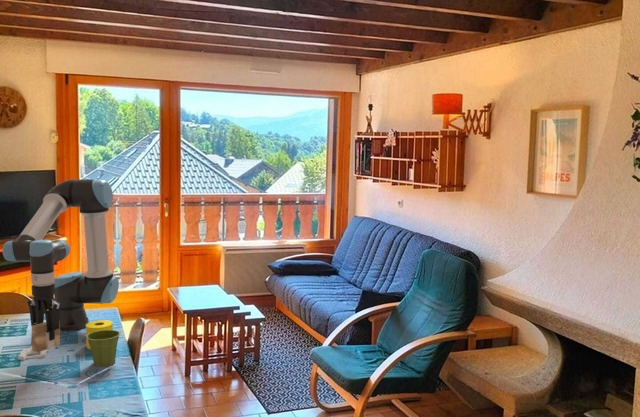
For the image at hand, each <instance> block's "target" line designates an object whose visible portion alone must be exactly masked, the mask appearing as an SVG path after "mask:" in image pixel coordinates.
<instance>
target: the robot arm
mask: <svg viewBox="0 0 640 417" xmlns="http://www.w3.org/2000/svg"><path fill="white" fill-rule="evenodd" d="M113 200H114V194H113V190H112V187H111V185H110V183H109V182H108V181H106V180H104V179H98V178H97V179H96V178H93V179H92V178H91V179H82V178H81V179H74V178H73V179H67V180H64V181H61V182H60V183H58V184H56V185H54V187H52V188H51V189H50V190H49V191H48V192H47V193H46V194H45V196H44V197H43V198H42V203H41V205H40V207H39V208H38V209H37V211H36V213H35V214H34V215H33V217H32V218H31V219H30V221H29V222H28V223H27V225H26V226H25V227H24V229H23V230H22V232H21V233H20V234H19V235H18V237H17V238H16V239H15V240H8V241H6V242H4V244H3V247H2V255H3V258H4V260H6V261H8V262H16V263H18V262H22V263H23V262H24V263H25V262H30V280H31V284H32V285H31V295H32V296H33V298H32V299H30V300H27V301H26V302H27V305H28V309H29V317H30V325H31V328H32V326H33V325H36V324H40V323H43V322H46V324H47V330H48V331H46V344H47V350H49V351H50V350H52V349H54V348H55V347H54V339H55V330H57V329H59V321H60V332H72V331H74V332H75V331H77V330H78V331H79V330H82V329H86V324H87V323H89V322H90V321H89V317H88V315H87V313H86V309H85V307H84V306H85V304H95V305H96V304H97V305H98V304H99V305H100V304H101V305H104V304H112V303H113V302H114V301H115V300H116V298H117V295H118V292H119V286H120V285H119V284H120V282H119V278H118V277H117V276H114V273H113V272H114V271H113V270H111V269H110V266H109V264H110V263H109V253H108V252H109V251H108V237H107V234H108V233H107V222H106V219H107V218H106V215H107V213H108V212H109V210H110V209H109V208H111V207H113V206H112V205H113V204H114V201H113ZM68 208H78V209H79V210H78V211H79V213H80V214H81V215H82V216H83V224H84V237H85V247H86V248H85V249H86V252H85V253H86V260H87V262H86V264H87V271H86V272H85V273H84V274H83V272H81V271H74V272H68V273H64V274H60V275H58V276H56V277H55V263H57V262H61V261H63V260H65V259H66V258H67V257H68V256H69V255H70V253H71V247H70V245H69V243H68V242H67V241H65V240H63V239H54V240H51V239H44V238H45V236H47V235H46V234H47V233H48V232H49V230H50V228H52V226H53V224H54V223H55V221H56V220H57V219H58V217H59V215H60V214H62V213H64V212H65V211H66V210H67V209H68ZM44 320H45V321H44ZM51 327H52V328H51Z"/></svg>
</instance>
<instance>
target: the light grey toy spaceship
mask: <svg viewBox="0 0 640 417" xmlns="http://www.w3.org/2000/svg"><path fill="white" fill-rule="evenodd" d="M49 352H50V350H47V349H46V350H43V351H40V352H34V351H32V345H31V346H29V347H28V348H25V349H23V350H22V349H21V351H20V352H19V354H18V357H17V360H18V361H23V362H24V361H26V360H33V359H43V358H46V357H47V354H48V353H49Z"/></svg>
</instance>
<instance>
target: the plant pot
mask: <svg viewBox="0 0 640 417" xmlns="http://www.w3.org/2000/svg"><path fill="white" fill-rule="evenodd" d="M120 335H121V332H120V331H119V330H116V329H113V330H100V331H95V332H92V333H89V334H88V335H87V336H86V335H85V336H86V337H85V338H87V339H88V342H89V344H90V348H91V349H90V351H91V352H90V353H91V358H92V361H93V365H94V366H96V367H106V366H109V367H111V366H113V365H114V363H116V356H117V348H118V342H119V338H120Z"/></svg>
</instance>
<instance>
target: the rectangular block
mask: <svg viewBox="0 0 640 417" xmlns="http://www.w3.org/2000/svg"><path fill="white" fill-rule="evenodd" d="M35 324H36V323H35ZM51 328H52V327H51ZM46 331H48V330H47V324H46V321H44V322H43V323H40V324H36V325H33V326H32V327H31V346H32V351H34V352H40V351H43V350H46V349H47V344H46ZM60 345H61V331H60V321H59V329H57V330H55V339H54V348H56V347H58V346H60Z"/></svg>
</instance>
